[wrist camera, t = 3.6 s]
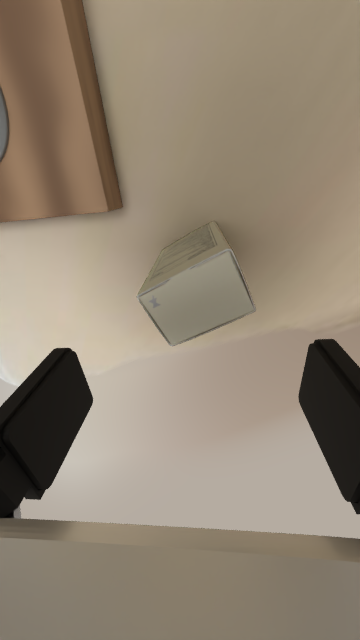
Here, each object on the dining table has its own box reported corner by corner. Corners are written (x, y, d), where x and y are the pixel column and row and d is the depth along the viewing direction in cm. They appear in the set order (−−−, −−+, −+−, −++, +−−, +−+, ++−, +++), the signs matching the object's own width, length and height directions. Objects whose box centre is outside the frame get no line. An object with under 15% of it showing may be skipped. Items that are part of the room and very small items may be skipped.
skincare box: (180, 283, 26) (166, 351, 16) (160, 249, 24) (129, 298, 14) (234, 257, 24) (260, 313, 14) (217, 217, 22) (231, 246, 12)
